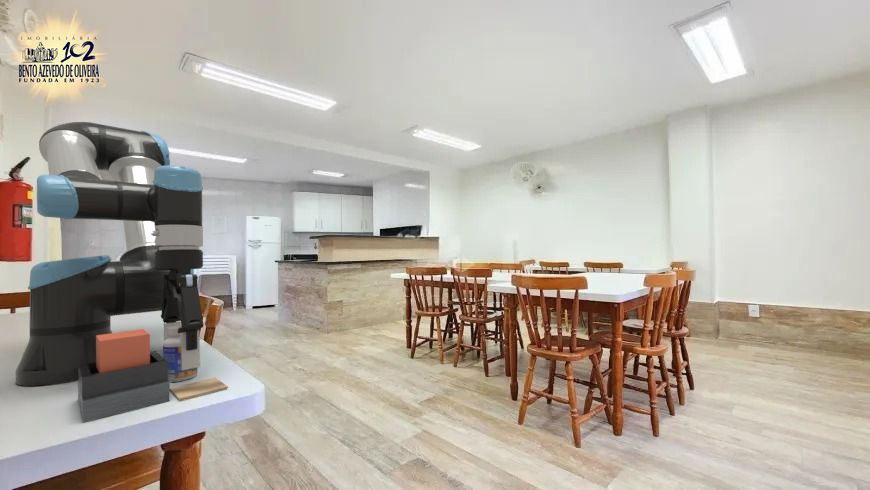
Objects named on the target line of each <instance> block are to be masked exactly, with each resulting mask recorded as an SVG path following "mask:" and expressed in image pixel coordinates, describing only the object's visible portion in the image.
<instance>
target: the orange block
mask: <svg viewBox="0 0 870 490" xmlns="http://www.w3.org/2000/svg"><path fill="white" fill-rule="evenodd" d="M150 336H151V334H150V333H149V332H148V331H146V329H143V328H142V329H141V328H140V329H134V330H128V331H127V330H126V331H119V332H112V333H111V334H103V335H96V367H97V370H98V372H99V373H102V372H107V371H113V370H118V369H123V368H129V367H134V366H139V365H145V364H150V352H151V337H150Z"/></svg>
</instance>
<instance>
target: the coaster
mask: <svg viewBox="0 0 870 490" xmlns="http://www.w3.org/2000/svg"><path fill="white" fill-rule="evenodd" d="M227 388H228V389H229V386H228V385H227V384H225V383H224V382H223V381H221V380H220V379H219V378H217V377H211V378H207V379H203V380H198V381H195V382H194V381H193V382H190V383H186V384H181V385H177V386H173V387H170V393H171V394H172V395H173V396H174V397H175V398H176V399H177V400H178V402H182V401H185V400H189V399H193V398H198V397H202V396H205V395H209V394H212V393H216V392H217V393H218V392H221V391H225V390H228V389H227ZM224 389H225V390H224ZM220 390H221V391H220Z"/></svg>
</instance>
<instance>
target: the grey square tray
mask: <svg viewBox="0 0 870 490" xmlns="http://www.w3.org/2000/svg"><path fill="white" fill-rule="evenodd" d="M170 388H171V387H170V382H169V381H168V361H167V360H165V359H164V358H163V355H161V354H160V353H159V352H158V351H156V350H153V351H150V364H145V365H139V366H134V367H129V368H123V369H118V370H113V371H107V372H102V373H99V372H98V370H97V367H96V361H94V362H88V363H82V364H78V381H77V392H78V393H77V401H78V407H79V412H80V416H81V421H82V423H87V422H91V421H95V420H99V419H103V418H107V417H111V416H114V415H115V416H116V415H118V414H123V413H127V412H131V411H134V410H138V409H143V408H146V407H150V406H154V405H157V404H163V403H166V402H170V401H171V400H170V399H171V398H170V397H171V396H170V395H171V394H170V393H171V392H170Z"/></svg>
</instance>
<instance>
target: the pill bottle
mask: <svg viewBox="0 0 870 490" xmlns="http://www.w3.org/2000/svg"><path fill="white" fill-rule="evenodd" d="M180 327H182V325H176V326H170V327H168V328H167V334H168V335H169V338H168V339H166V340H165V341H164V340H163V342H162V357H163V358H164V359H165V360H167V361H168V381H169V383H176V382H182V381H186V380H187V381H188V380H190V379H193V378H195V377H196V376H197V375H198V373H199V371H198V370H199V369H198V368H199V367H196V368H191V369H187V370H181V338H180V333H178V329H179V328H180Z"/></svg>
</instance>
